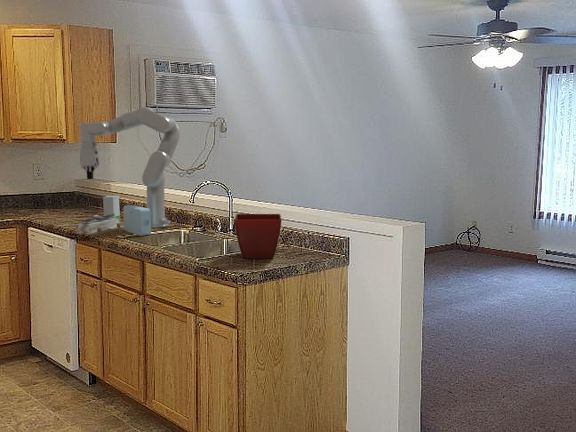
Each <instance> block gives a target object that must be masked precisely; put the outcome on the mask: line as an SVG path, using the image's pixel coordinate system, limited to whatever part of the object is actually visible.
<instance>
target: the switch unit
mask: <svg viewBox="0 0 576 432" xmlns="http://www.w3.org/2000/svg"><path fill="white" fill-rule="evenodd" d="M121 224H122V223H121V222H120V223H119V219H115V218H108V219H106V220H103V221H100V220H98V221H97V220H96V219H95V220H93V221H91V222H87V223H86V222H80V223H78V224H77V225H78V226H77V228H78V230H76V231H74V234H75V235H87V236H88V235H90V236H91V235H92V236H98V235H99V236H100V235H103V234H108V233H112V232H115V231H121V230H124V225H121Z"/></svg>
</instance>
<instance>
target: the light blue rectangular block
mask: <svg viewBox="0 0 576 432" xmlns="http://www.w3.org/2000/svg"><path fill="white" fill-rule="evenodd" d="M123 226H124V229H123V230H124V231H125V232H129V233H131V234H134V235H137V236H141V237H142V236H143V237H144V236H151V235H152V228H151V212H150V209H148V208H147V207H143V206H139V205H135V204H134V205H133V204H131V205H130V204H129V205H123Z"/></svg>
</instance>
